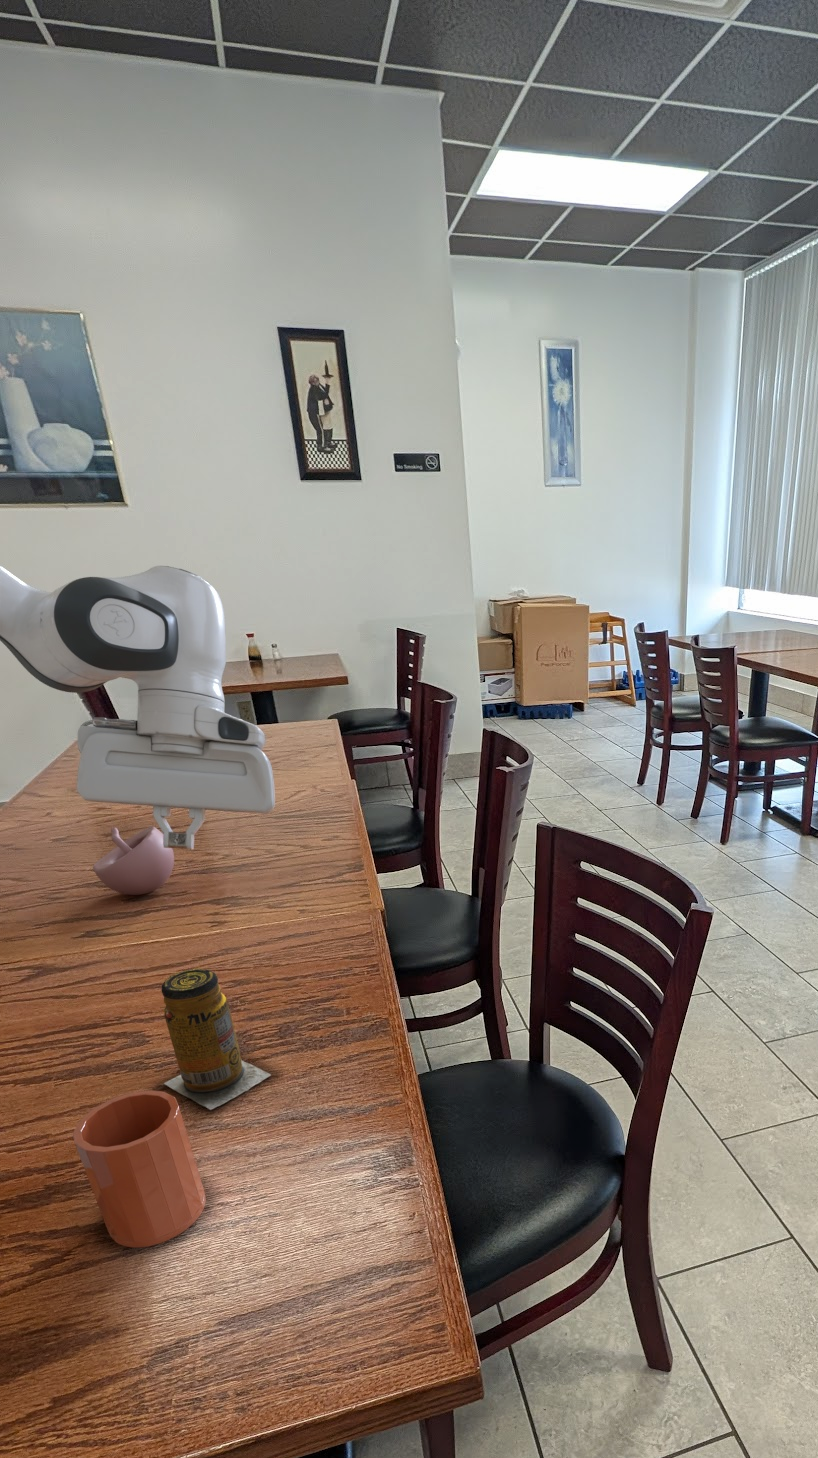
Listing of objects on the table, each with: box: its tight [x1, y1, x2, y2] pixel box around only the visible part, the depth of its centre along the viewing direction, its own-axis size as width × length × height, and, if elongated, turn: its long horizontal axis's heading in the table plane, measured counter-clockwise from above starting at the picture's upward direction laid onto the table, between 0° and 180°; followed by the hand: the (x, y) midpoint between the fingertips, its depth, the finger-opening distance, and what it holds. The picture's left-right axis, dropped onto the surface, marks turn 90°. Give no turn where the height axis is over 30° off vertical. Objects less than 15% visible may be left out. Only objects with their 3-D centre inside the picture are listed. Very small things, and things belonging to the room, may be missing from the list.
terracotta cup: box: [72, 1089, 207, 1249], centre depth 68 cm, size 8×8×10 cm
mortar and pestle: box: [92, 825, 175, 896], centre depth 134 cm, size 12×12×11 cm
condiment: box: [160, 968, 272, 1111], centre depth 84 cm, size 7×8×12 cm
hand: (178, 848), depth 93 cm, fingers closed
